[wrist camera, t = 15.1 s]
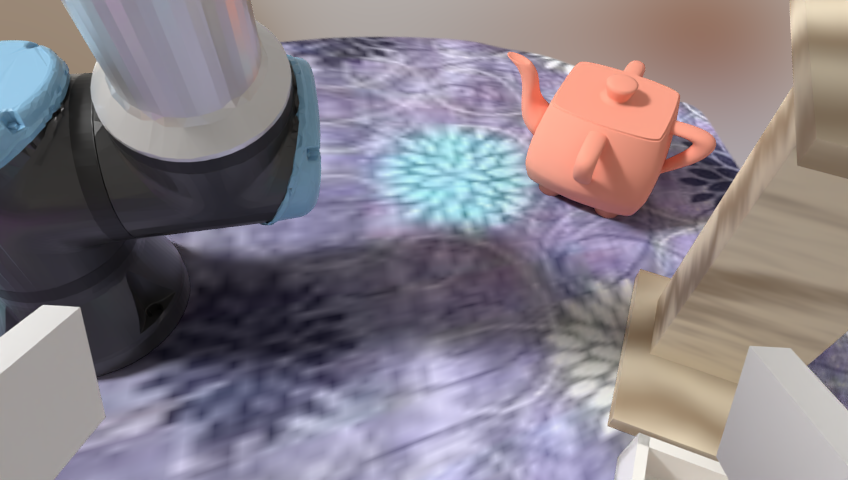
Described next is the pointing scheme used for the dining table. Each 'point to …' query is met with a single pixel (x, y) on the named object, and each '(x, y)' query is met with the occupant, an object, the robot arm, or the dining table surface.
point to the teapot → (604, 135)
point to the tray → (664, 462)
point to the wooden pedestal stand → (751, 259)
